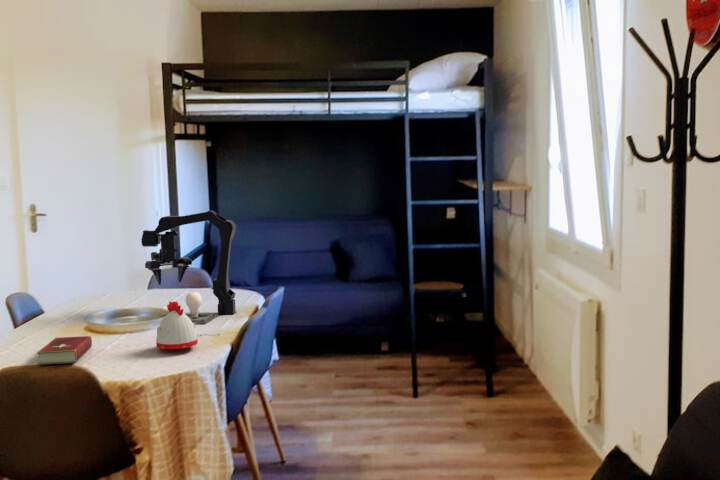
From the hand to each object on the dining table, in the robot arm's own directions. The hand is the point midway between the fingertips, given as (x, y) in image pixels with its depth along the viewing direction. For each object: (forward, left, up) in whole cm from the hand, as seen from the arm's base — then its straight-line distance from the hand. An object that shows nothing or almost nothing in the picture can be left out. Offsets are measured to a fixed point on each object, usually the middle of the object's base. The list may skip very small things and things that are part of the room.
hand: (169, 283), depth 305 cm
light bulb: (-15, +11, -13) cm, 22 cm away
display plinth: (-15, +11, -13) cm, 23 cm away
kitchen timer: (-23, +50, -14) cm, 57 cm away
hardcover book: (+10, +65, -14) cm, 67 cm away
